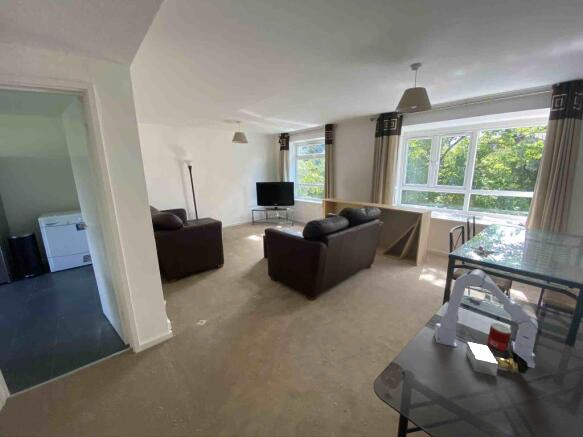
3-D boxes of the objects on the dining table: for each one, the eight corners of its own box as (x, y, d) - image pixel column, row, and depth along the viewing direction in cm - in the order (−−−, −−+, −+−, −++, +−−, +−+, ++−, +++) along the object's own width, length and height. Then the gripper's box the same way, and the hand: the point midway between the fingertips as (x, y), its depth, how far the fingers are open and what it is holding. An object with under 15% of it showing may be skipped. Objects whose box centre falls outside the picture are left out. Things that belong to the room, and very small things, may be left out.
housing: (474, 370, 108) (476, 358, 107) (465, 353, 119) (467, 341, 118) (495, 376, 105) (498, 363, 104) (485, 357, 116) (487, 345, 115)
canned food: (509, 353, 119) (514, 334, 117) (490, 348, 122) (494, 330, 120) (503, 343, 126) (507, 325, 124) (484, 339, 129) (488, 321, 127)
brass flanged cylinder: (497, 371, 108) (499, 360, 107) (492, 362, 113) (494, 352, 112) (525, 377, 104) (528, 367, 103) (519, 368, 109) (521, 358, 108)
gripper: (546, 357, 96) (540, 385, 99) (526, 335, 110) (521, 360, 112) (524, 352, 99) (519, 380, 101) (507, 331, 112) (503, 356, 115)
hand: (519, 369), depth 107 cm, fingers closed on brass flanged cylinder, 3 cm apart
